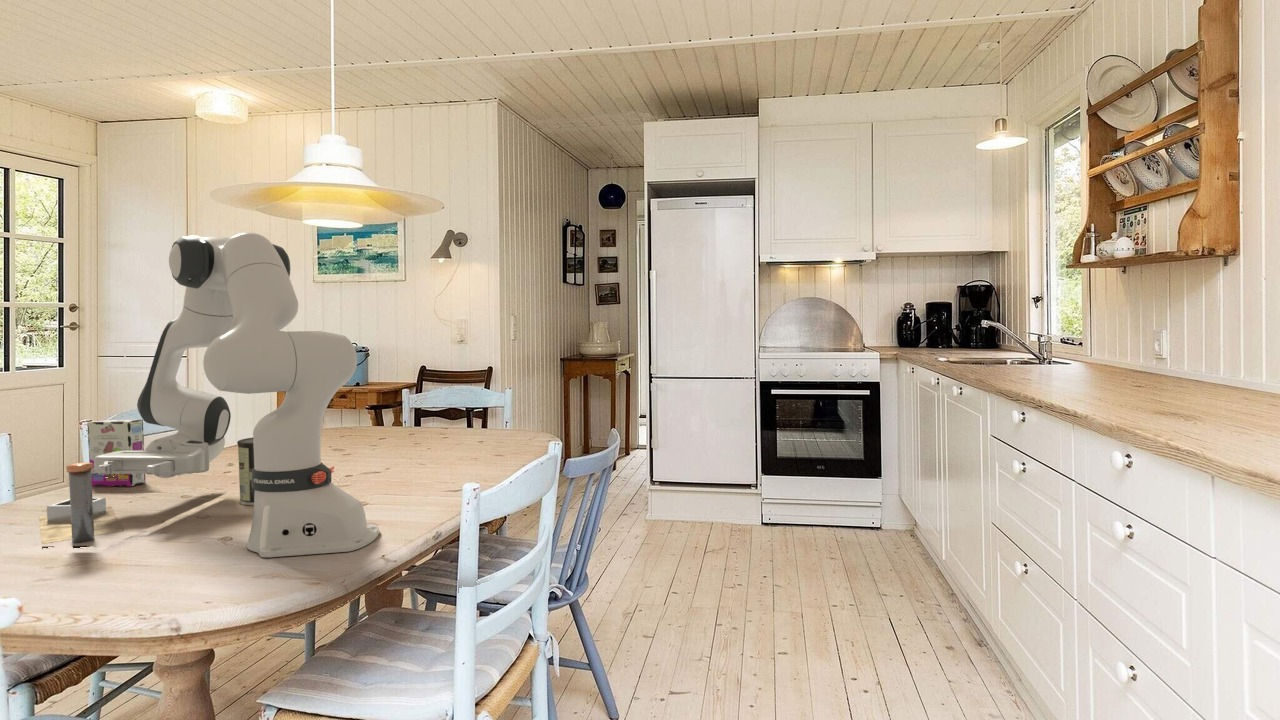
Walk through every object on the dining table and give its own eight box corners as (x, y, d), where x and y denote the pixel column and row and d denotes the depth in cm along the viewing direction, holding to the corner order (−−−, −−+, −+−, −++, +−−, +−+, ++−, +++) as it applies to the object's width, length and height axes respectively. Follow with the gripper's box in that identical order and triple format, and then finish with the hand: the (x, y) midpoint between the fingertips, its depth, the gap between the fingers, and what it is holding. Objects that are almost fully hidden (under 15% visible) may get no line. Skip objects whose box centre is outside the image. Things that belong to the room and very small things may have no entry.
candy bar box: (147, 482, 181) (144, 418, 181) (132, 487, 176) (129, 421, 176) (105, 482, 182) (102, 418, 181) (89, 486, 177) (85, 421, 176)
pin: (101, 542, 132) (98, 462, 131) (86, 549, 128) (82, 466, 127) (80, 542, 132) (76, 462, 131) (65, 549, 128) (60, 466, 127)
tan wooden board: (124, 535, 136) (123, 530, 136) (42, 549, 128) (41, 543, 128) (111, 510, 154) (111, 506, 154) (39, 521, 146) (39, 516, 146)
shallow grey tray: (106, 511, 150) (105, 497, 150) (82, 520, 143) (81, 505, 143) (73, 512, 149) (72, 497, 149) (47, 521, 143) (46, 506, 143)
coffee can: (299, 495, 167) (298, 436, 166) (268, 507, 157) (266, 443, 156) (261, 493, 169) (259, 435, 168) (228, 504, 159) (226, 442, 158)
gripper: (119, 442, 155) (71, 454, 141) (215, 442, 156) (176, 455, 142) (121, 470, 155) (72, 486, 142) (216, 470, 156) (177, 486, 142)
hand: (125, 470), depth 142 cm, fingers open, 8 cm apart
